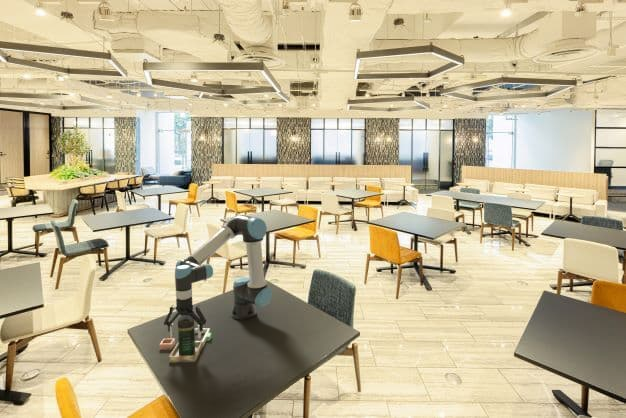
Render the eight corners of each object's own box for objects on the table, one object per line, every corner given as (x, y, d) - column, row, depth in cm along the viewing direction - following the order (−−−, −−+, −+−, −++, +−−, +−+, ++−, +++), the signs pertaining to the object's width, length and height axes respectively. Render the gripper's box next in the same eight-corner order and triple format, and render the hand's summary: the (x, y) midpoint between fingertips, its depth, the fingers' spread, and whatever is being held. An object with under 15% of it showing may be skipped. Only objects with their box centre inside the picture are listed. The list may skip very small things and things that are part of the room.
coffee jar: (195, 356, 183) (194, 320, 180) (178, 358, 181) (176, 322, 178) (195, 346, 192) (194, 312, 189) (179, 348, 190) (177, 314, 187)
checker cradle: (213, 332, 209) (213, 328, 209) (207, 346, 194) (207, 341, 194) (186, 332, 208) (186, 328, 208) (178, 346, 194) (178, 342, 193)
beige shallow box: (202, 346, 194) (202, 341, 193) (195, 362, 180) (195, 356, 179) (178, 346, 193) (178, 341, 193) (169, 362, 179) (168, 356, 179)
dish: (175, 343, 196) (175, 338, 196) (171, 349, 190) (171, 344, 190) (163, 343, 196) (163, 338, 196) (159, 349, 190) (159, 344, 190)
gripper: (211, 293, 186) (212, 333, 189) (161, 294, 185) (163, 333, 188) (207, 299, 178) (209, 340, 182) (155, 300, 177) (157, 341, 181)
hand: (185, 337), depth 185 cm, fingers open, 13 cm apart
